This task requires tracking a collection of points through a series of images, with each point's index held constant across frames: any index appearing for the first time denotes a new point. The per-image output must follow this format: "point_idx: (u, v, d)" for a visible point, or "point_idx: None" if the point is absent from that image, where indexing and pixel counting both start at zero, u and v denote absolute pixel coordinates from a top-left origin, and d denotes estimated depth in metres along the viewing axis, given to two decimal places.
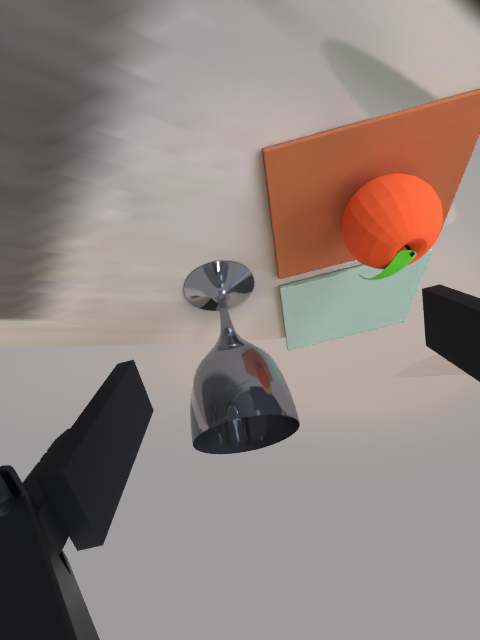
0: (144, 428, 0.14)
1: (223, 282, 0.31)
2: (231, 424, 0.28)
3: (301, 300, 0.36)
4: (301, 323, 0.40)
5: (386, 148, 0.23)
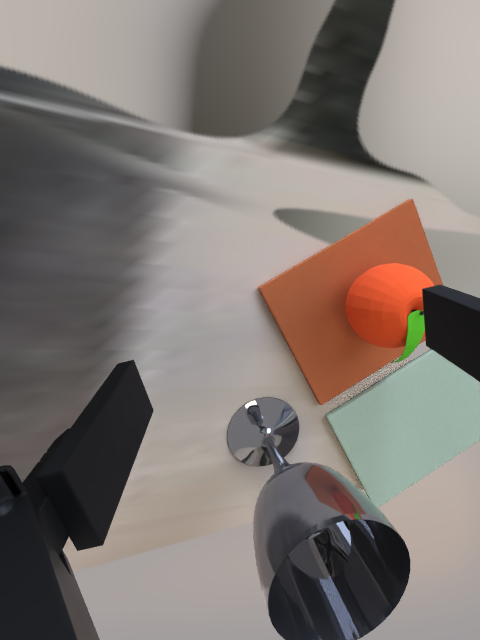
0: (144, 428, 0.14)
1: (264, 422, 0.30)
2: (324, 598, 0.20)
3: (356, 426, 0.32)
4: (371, 460, 0.34)
5: (355, 259, 0.29)
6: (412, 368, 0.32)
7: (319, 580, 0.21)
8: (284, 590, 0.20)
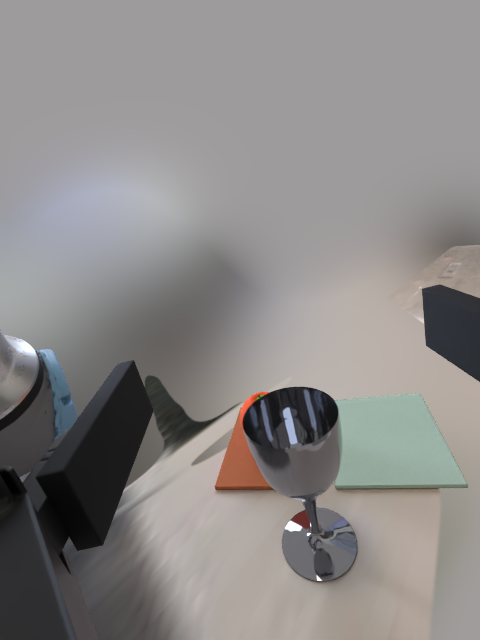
0: (144, 428, 0.14)
1: (303, 529, 0.32)
2: (339, 448, 0.25)
3: (357, 469, 0.37)
4: (400, 469, 0.36)
5: (244, 436, 0.48)
6: None
7: (340, 457, 0.26)
8: None
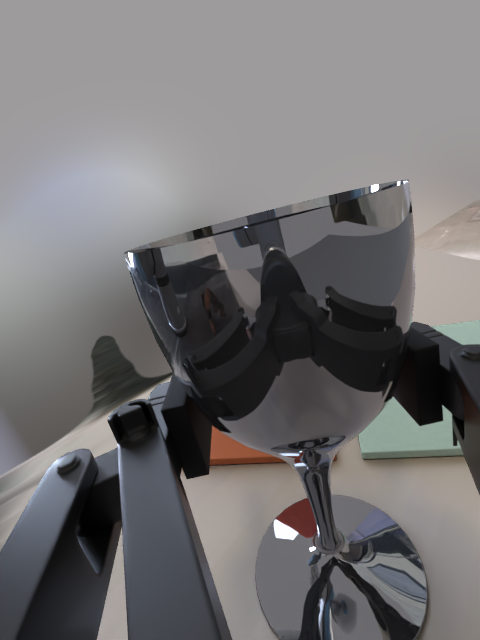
0: None
1: (301, 538, 0.15)
2: (413, 286, 0.08)
3: (402, 425, 0.20)
4: None
5: None
6: None
7: (410, 321, 0.08)
8: None
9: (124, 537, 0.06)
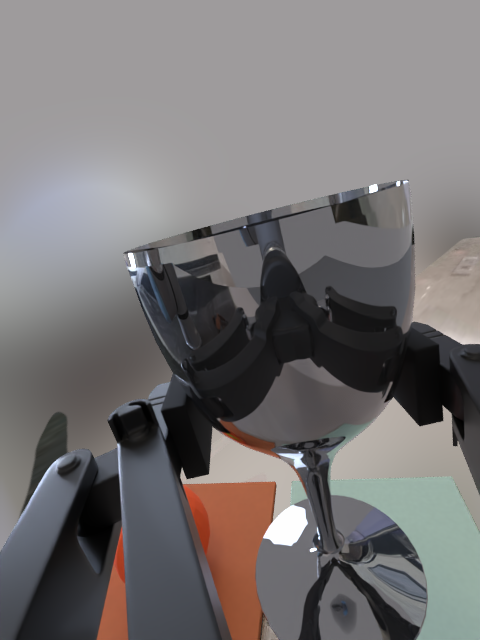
0: None
1: (301, 539, 0.15)
2: (413, 287, 0.08)
3: None
4: None
5: None
6: None
7: (411, 321, 0.08)
8: None
9: (124, 537, 0.06)
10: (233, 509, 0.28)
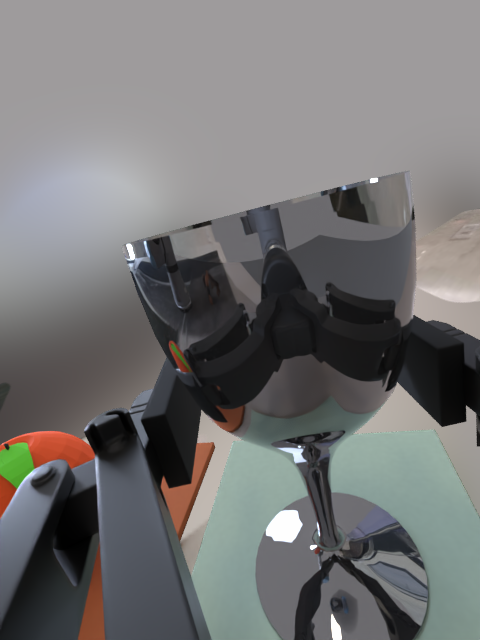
0: None
1: (301, 536, 0.15)
2: (414, 279, 0.08)
3: None
4: None
5: None
6: (216, 519, 0.18)
7: (411, 314, 0.08)
8: None
9: (101, 551, 0.06)
10: None
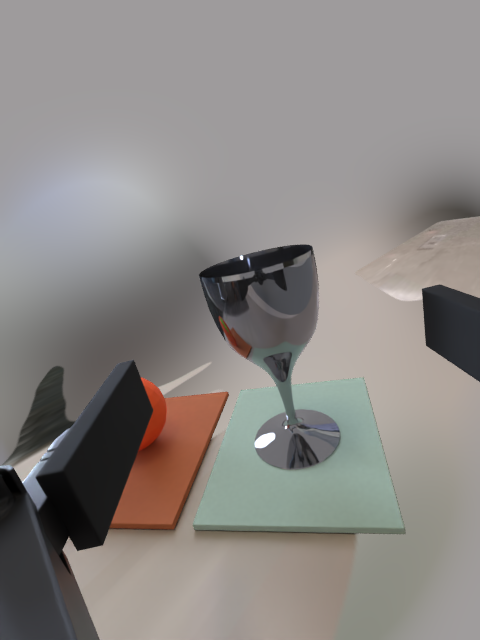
0: (144, 428, 0.14)
1: (279, 425, 0.28)
2: (313, 290, 0.21)
3: (237, 496, 0.23)
4: (302, 497, 0.21)
5: None
6: (232, 425, 0.30)
7: None
8: None
9: None
10: (191, 409, 0.35)
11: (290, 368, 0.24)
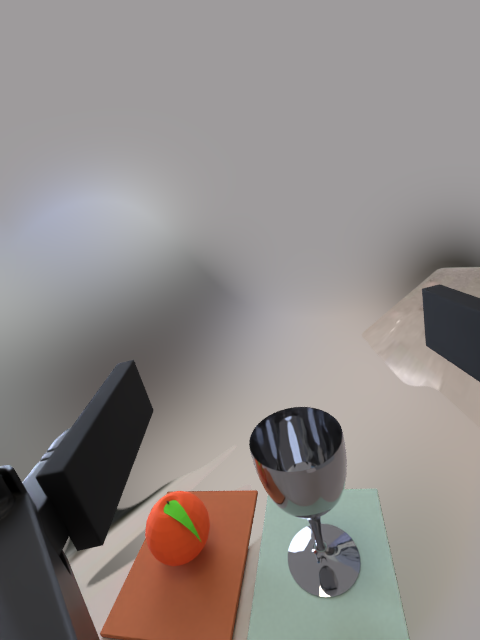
0: (144, 428, 0.14)
1: (308, 545, 0.33)
2: (344, 470, 0.26)
3: (279, 624, 0.28)
4: (333, 631, 0.27)
5: None
6: (265, 536, 0.36)
7: (344, 477, 0.27)
8: None
9: None
10: (226, 510, 0.40)
11: None
